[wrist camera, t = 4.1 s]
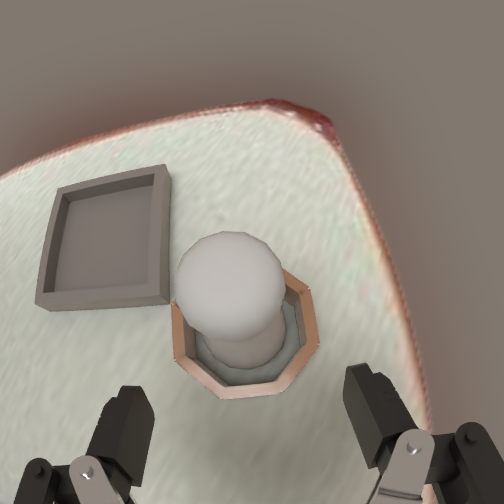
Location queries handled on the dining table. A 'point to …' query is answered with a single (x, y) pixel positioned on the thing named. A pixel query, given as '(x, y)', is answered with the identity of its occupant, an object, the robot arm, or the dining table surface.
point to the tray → (108, 243)
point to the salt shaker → (233, 297)
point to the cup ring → (309, 343)
